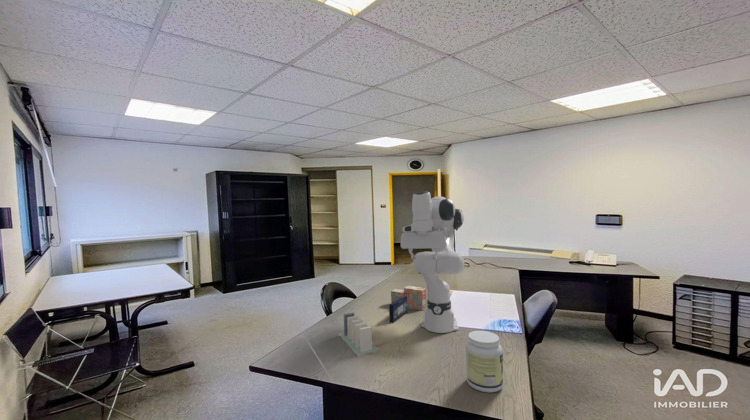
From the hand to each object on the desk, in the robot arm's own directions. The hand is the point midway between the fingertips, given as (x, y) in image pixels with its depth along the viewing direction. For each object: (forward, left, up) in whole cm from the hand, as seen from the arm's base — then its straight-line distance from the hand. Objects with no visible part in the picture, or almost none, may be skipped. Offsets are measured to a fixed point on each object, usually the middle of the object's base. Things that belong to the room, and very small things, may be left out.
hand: (423, 259), depth 138 cm
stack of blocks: (-54, -21, -40) cm, 70 cm away
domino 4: (+6, -28, -39) cm, 49 cm away
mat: (+3, -32, -40) cm, 51 cm away
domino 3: (+3, -31, -39) cm, 50 cm away
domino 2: (-1, -35, -39) cm, 53 cm away
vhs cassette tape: (-34, -22, -40) cm, 57 cm away
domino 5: (+10, -24, -39) cm, 47 cm away
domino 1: (-4, -39, -39) cm, 55 cm away
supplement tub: (+21, +24, -40) cm, 51 cm away
